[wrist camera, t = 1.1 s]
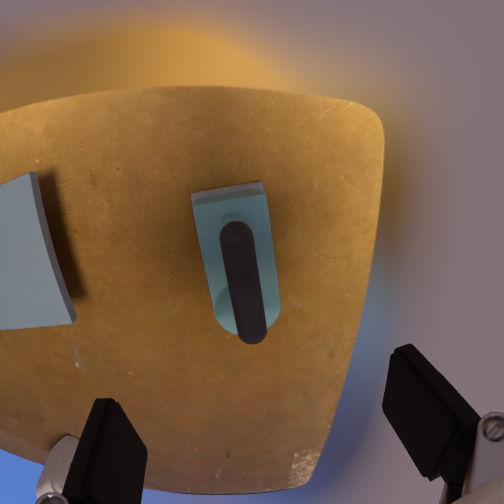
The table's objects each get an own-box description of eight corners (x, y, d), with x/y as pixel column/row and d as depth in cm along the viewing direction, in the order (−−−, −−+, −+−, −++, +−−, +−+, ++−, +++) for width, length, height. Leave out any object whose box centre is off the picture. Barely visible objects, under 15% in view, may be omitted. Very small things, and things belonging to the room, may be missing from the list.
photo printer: (67, 430, 32) (44, 492, 20) (90, 445, 33) (72, 507, 21) (49, 448, 33) (29, 499, 22) (69, 461, 35) (53, 513, 23)
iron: (190, 192, 25) (176, 211, 16) (261, 180, 25) (285, 193, 16) (216, 314, 28) (217, 377, 19) (277, 303, 29) (302, 362, 20)
